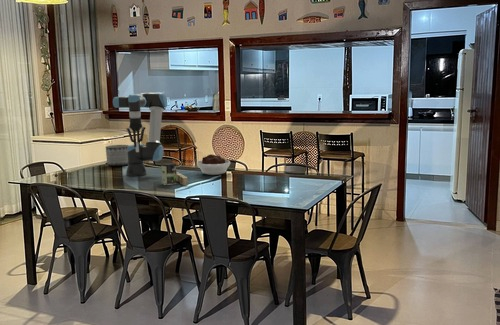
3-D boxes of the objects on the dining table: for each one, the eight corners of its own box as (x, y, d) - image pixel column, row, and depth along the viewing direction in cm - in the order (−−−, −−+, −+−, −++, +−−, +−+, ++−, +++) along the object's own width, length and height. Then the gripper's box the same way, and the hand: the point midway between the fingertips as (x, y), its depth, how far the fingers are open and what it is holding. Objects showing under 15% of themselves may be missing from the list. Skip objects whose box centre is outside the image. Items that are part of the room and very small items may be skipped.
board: (174, 179, 348) (174, 172, 347) (178, 179, 349) (178, 172, 348) (183, 185, 328) (183, 178, 327) (187, 184, 329) (187, 177, 328)
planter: (102, 167, 403) (101, 147, 400) (112, 163, 422) (111, 144, 419) (124, 167, 400) (123, 147, 397) (133, 163, 419) (132, 144, 416)
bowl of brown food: (225, 170, 382) (225, 151, 380) (234, 175, 359) (234, 155, 356) (194, 172, 374) (193, 153, 372) (201, 178, 351) (201, 157, 348)
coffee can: (179, 182, 339) (178, 162, 336) (173, 185, 329) (172, 164, 326) (165, 181, 341) (164, 162, 338) (159, 184, 331) (158, 164, 328)
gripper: (127, 118, 322) (129, 153, 326) (146, 117, 328) (148, 151, 332) (124, 117, 328) (126, 151, 333) (143, 116, 334) (145, 150, 339)
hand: (137, 151), depth 333 cm, fingers closed
